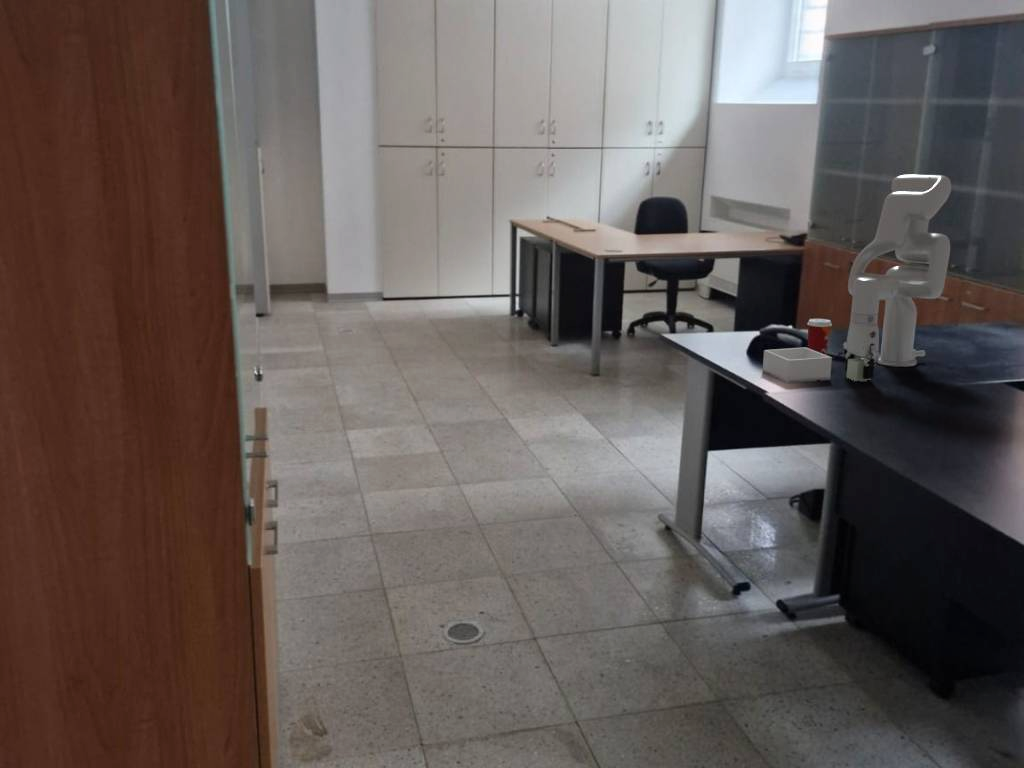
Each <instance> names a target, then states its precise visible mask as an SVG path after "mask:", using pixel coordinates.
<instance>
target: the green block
mask: <svg viewBox="0 0 1024 768" xmlns="http://www.w3.org/2000/svg"><path fill="white" fill-rule="evenodd" d="M869 360H870V359H868V361H869ZM864 366H866V365H865V362H864V359H863V358H862V357H859V358H858V357H857V358H856V357H855V358H854V359H848V366H847V372H846V377H847V378H846V379H848V378H849V380H850V379H851V381H853V380H854V381H853V382H855V381H860V382H868V381H867V380H872V379H863V368H864Z"/></svg>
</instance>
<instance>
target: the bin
mask: <svg viewBox="0 0 1024 768" xmlns="http://www.w3.org/2000/svg"><path fill="white" fill-rule="evenodd" d="M762 362H763V364H762V372H763V373H764V374H767V375H769V376H771V377H773V378H775V379H778V380H780V381H782V382H784V383H785V384H791V383H793V384H794V383H795V384H796V383H805V382H806V381H807V382H817V380H820V381H830V380H831V372H832V362H833V358H832V357H831V356H830V355H828V354H827V355H824V354H822V353H819V352H816V351H814V350H811V349H809V348H808V347H806V346H805V347H791V348H789V347H788V348H778V349H777V348H776V349H774V348H773V349H765V350H763V361H762Z"/></svg>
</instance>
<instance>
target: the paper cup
mask: <svg viewBox="0 0 1024 768" xmlns="http://www.w3.org/2000/svg"><path fill="white" fill-rule="evenodd" d="M806 325H807V348H809V349H811V350H814V351H816V352H819V353H822V354H824V355H827V356H828V348H829V342H830V334H831V328H832V326H833V324H832V321H831V320H830V319H825V318H809V320H808V322H807V323H806Z"/></svg>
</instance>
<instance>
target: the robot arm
mask: <svg viewBox="0 0 1024 768" xmlns="http://www.w3.org/2000/svg"><path fill="white" fill-rule="evenodd" d="M890 188H891V192H890V193H889V194H888V195H887V196H886V197H885V199H884V203H883V206H882V210H881V213H880V218H879V221H878V224H877V225H878V226H877V229H876V233H875V236H874V239H873V240H872V241H871V242H870V243H868V244H867V245H866V246H865V247H864V248H863V249H862V250H861V251H860V252H859V253H858V255H857V256H855V259H854V261H853V263H852V267H851V269H850V274H849V277H848V283H847V288H848V289H847V291H848V293H849V294H850V295H851V296H852V300H851V301H852V302H851V313H850V323H849V326H848V331H847V337H846V341H845V342H843V344H842V346H843V352H844V359H845V367H844V371H845V372H846V373H847V366H848V359H855V358H856V357H859V358H863V359H864V362H865V365H866V366H864V368H863V379H871V380H872V379H873V378H874V371H875V366H877V365H876V364H880V365H884V366H886V367H887V366H889V367H897V368H899V367H900V368H901V367H903V368H905V367H906V368H908V367H913V366H916V365H917V362H918V361H917V360H916V358H917V357H925V356H926V351H925V350H924V349H922V350H917V349H914V342H915V333H916V323H917V316H918V315H917V314H918V310H917V306H916V304H915V302H914V300H913V299H912V298H918V299H926V300H927V299H928V300H933V299H937V298H939V297H940V296H941V295H942V293H943V291H944V288H945V282H946V277H947V271H948V265H949V260H950V254H951V242H950V238H949V237H948V236H947V235H946V234H943V233H937V232H928V229H929V224H930V223H929V222H930V220H931V219H932V218H934V216H935V215H936V214H937V213H938V212H939V210H940V209H941V208H942V207H943V205H944V204H945V203H946V202H947V200H948V199H949V197H950V194H951V192H952V182H951V180H950V178H949V177H948V176H946V175H941V174H902V175H898V176H896V177H894V178H893V180H892V182H891V187H890ZM892 251H894V254H895V258H896V259H897V260H899V261H902V262H905V263H906V262H907V263H916V264H917V263H918V264H927V265H928V267H922V266H921V267H920V266H913V265H912V266H910V265H897V266H893V267H890V268H889V269H888V270H887V271H886V272H885V274H878V273H870V272H869V273H868V272H865V270H866V269H867V267H868V265H869V263H871V262H872V261H873V260H874V259H876V258H877V257H878V256H879V257H880V256H881V255H884V254H886V253H890V252H892ZM880 301H885V304H884V305H885V306H884V307H885V308H884V318H883V327H882V337H881V348H880V349H879V347H880V333H879V330H880V329H879V325H878V317H879V308H880V307H879V306H880ZM879 350H880V352H879ZM868 360H869V361H868Z"/></svg>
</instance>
